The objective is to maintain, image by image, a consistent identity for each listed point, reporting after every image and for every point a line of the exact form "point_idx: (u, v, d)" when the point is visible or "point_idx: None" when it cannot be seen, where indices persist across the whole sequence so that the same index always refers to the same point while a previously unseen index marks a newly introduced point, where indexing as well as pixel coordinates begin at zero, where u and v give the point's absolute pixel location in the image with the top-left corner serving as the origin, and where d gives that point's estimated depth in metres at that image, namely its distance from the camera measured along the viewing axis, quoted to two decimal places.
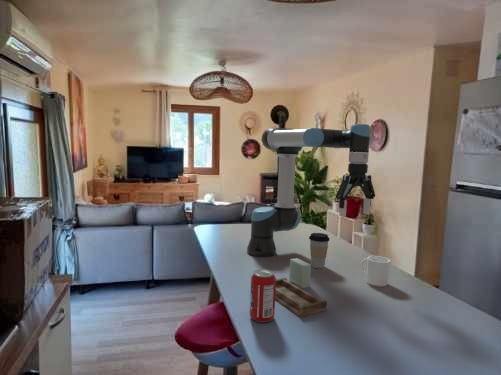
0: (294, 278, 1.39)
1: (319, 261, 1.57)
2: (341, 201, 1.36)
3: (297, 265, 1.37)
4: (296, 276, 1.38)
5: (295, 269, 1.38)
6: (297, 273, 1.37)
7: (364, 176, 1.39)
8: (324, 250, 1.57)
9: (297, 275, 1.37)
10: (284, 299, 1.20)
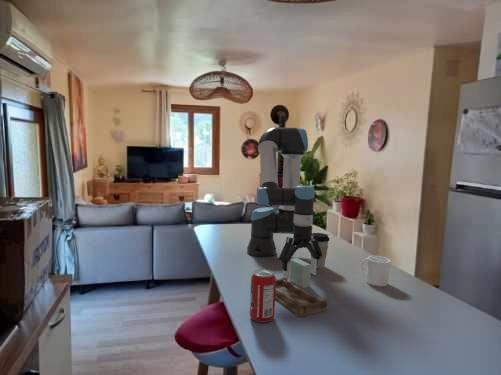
0: (294, 278, 1.39)
1: (319, 261, 1.57)
2: (284, 264, 1.34)
3: (297, 265, 1.37)
4: (296, 276, 1.38)
5: (295, 269, 1.38)
6: (297, 273, 1.37)
7: (309, 237, 1.38)
8: (324, 250, 1.57)
9: (297, 275, 1.37)
10: (284, 299, 1.20)
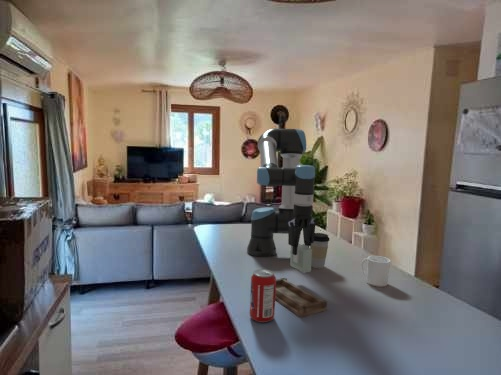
0: (295, 263, 1.39)
1: (319, 261, 1.57)
2: (294, 248, 1.36)
3: None
4: None
5: None
6: None
7: (310, 217, 1.37)
8: (324, 250, 1.57)
9: None
10: (284, 299, 1.20)
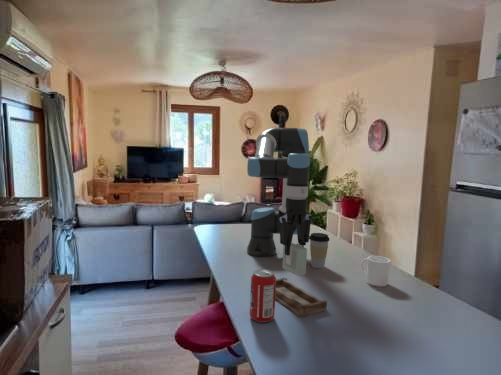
0: (288, 265, 1.22)
1: (319, 261, 1.57)
2: (286, 247, 1.20)
3: None
4: None
5: None
6: None
7: (305, 212, 1.21)
8: (324, 250, 1.57)
9: None
10: (284, 299, 1.20)
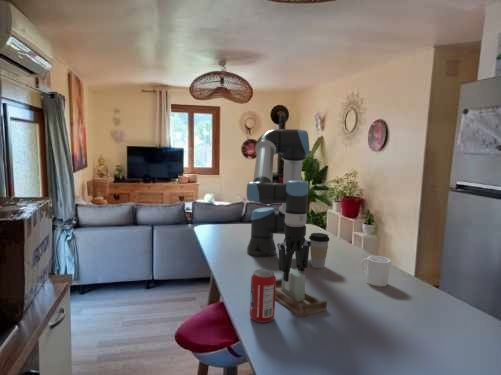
0: (287, 290, 1.23)
1: (319, 261, 1.57)
2: (285, 274, 1.21)
3: None
4: None
5: None
6: None
7: (303, 239, 1.22)
8: (324, 250, 1.57)
9: None
10: (284, 299, 1.20)
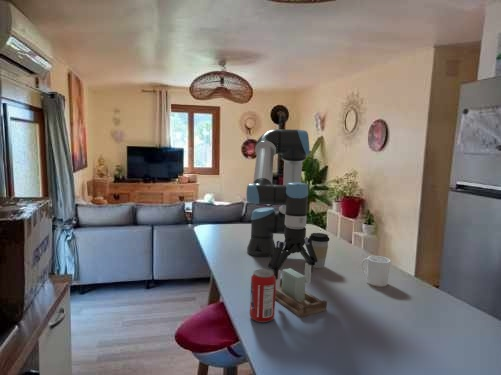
0: (287, 291, 1.23)
1: (319, 261, 1.57)
2: (274, 271, 1.18)
3: (290, 277, 1.21)
4: (289, 289, 1.22)
5: (288, 281, 1.22)
6: (290, 286, 1.21)
7: (303, 241, 1.22)
8: (324, 250, 1.57)
9: (290, 288, 1.21)
10: (284, 299, 1.20)
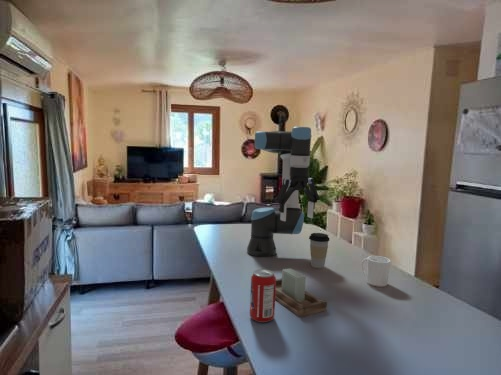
0: (287, 291, 1.23)
1: (319, 261, 1.57)
2: (281, 205, 1.33)
3: (290, 277, 1.21)
4: (289, 289, 1.22)
5: (288, 281, 1.22)
6: (290, 286, 1.21)
7: (306, 179, 1.37)
8: (324, 250, 1.57)
9: (290, 288, 1.21)
10: (284, 299, 1.20)
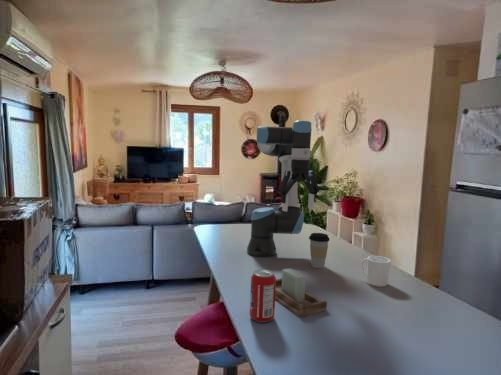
0: (287, 291, 1.23)
1: (319, 261, 1.57)
2: (282, 196, 1.39)
3: (290, 277, 1.21)
4: (289, 289, 1.22)
5: (288, 281, 1.22)
6: (290, 286, 1.21)
7: (307, 172, 1.42)
8: (324, 250, 1.57)
9: (290, 288, 1.21)
10: (284, 299, 1.20)
